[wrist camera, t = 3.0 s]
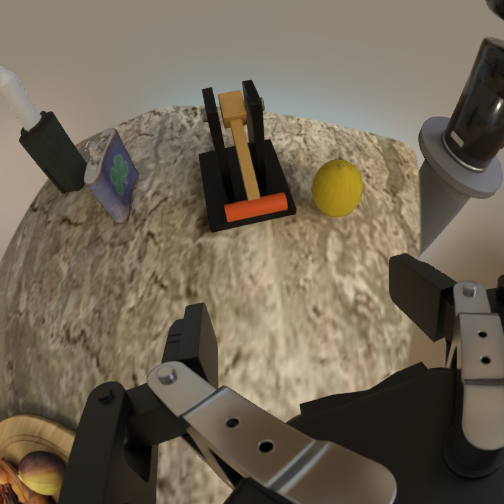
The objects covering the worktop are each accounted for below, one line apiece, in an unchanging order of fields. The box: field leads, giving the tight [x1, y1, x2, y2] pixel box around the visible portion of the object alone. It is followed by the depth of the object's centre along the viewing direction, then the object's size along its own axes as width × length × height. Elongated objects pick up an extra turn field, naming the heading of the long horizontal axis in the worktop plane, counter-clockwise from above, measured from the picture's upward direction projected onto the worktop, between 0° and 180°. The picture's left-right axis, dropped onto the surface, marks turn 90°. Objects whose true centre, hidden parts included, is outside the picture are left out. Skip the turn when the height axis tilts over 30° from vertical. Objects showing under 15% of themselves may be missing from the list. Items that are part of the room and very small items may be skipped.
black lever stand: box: [199, 80, 296, 232], centre depth 31 cm, size 12×10×14 cm
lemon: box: [312, 160, 363, 217], centre depth 31 cm, size 6×6×8 cm
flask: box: [84, 128, 139, 224], centre depth 33 cm, size 9×3×11 cm, turn 1°
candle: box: [0, 66, 87, 193], centre depth 30 cm, size 5×5×25 cm
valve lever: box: [218, 90, 288, 222], centre depth 26 cm, size 12×5×2 cm, turn 13°
